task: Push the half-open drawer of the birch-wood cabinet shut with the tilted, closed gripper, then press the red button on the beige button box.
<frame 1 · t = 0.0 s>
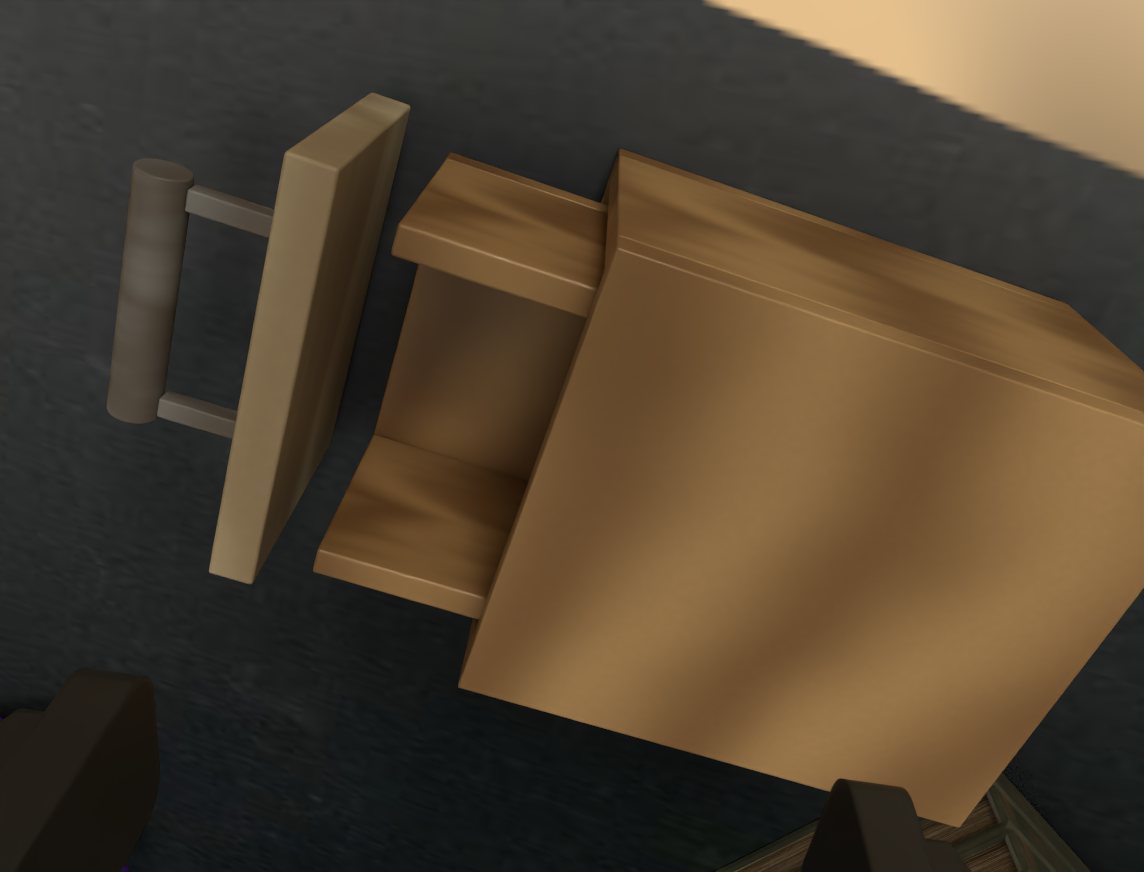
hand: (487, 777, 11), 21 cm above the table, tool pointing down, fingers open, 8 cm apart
drawer: (456, 377, 27), point 5 cm above the table, slide at 6.0 cm
cabinet: (764, 406, 32), on the table
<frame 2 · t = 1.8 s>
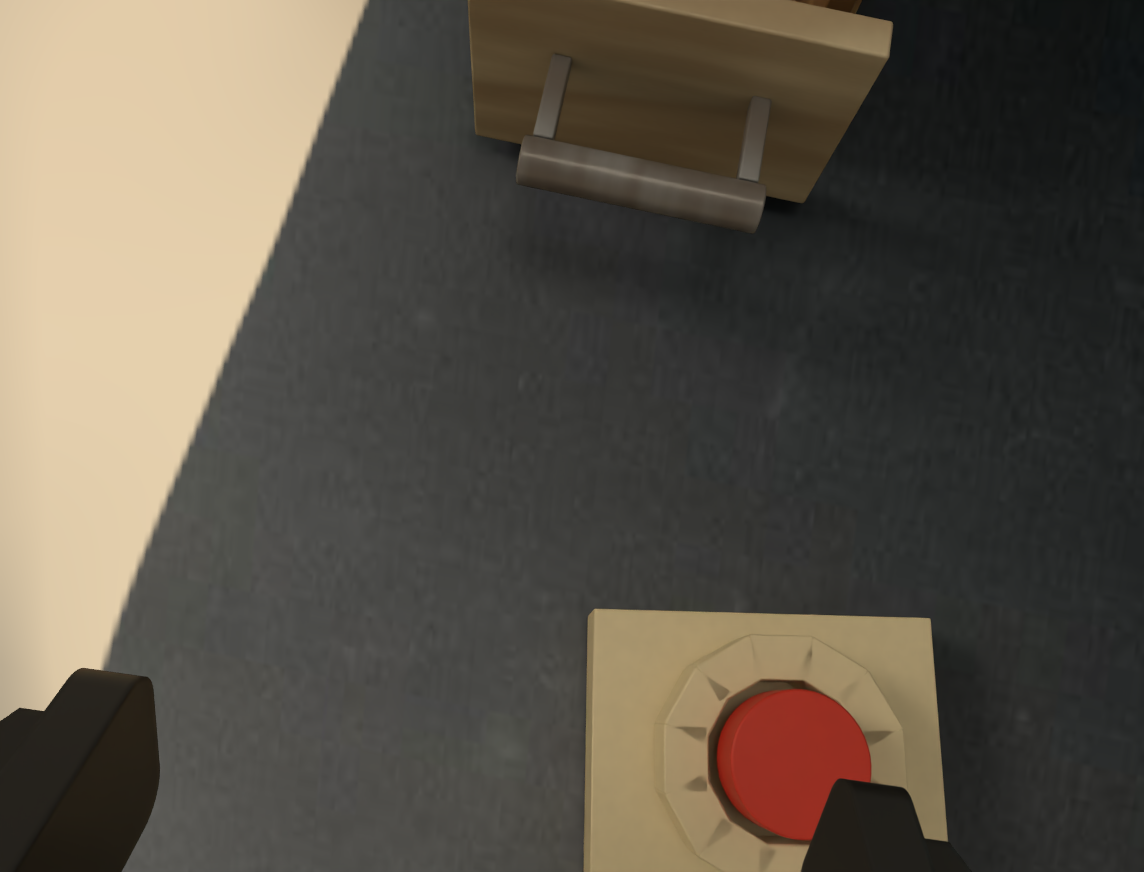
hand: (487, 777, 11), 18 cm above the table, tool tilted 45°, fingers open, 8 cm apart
button box: (750, 753, 29), on the table
red button: (792, 761, 25), point 5 cm above the table, slide at 0.2 cm
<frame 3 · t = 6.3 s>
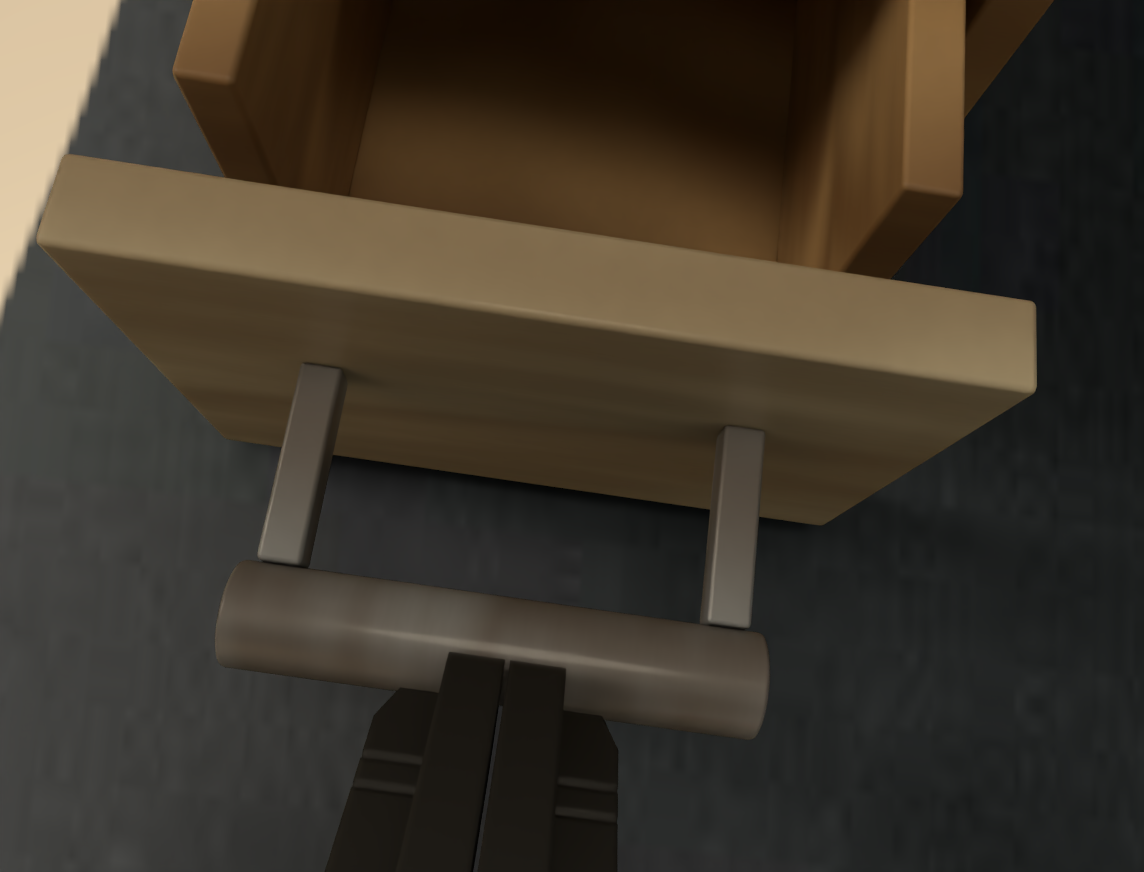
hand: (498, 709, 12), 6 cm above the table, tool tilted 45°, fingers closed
drawer: (572, 156, 16), point 5 cm above the table, slide at 4.9 cm, touching gripper
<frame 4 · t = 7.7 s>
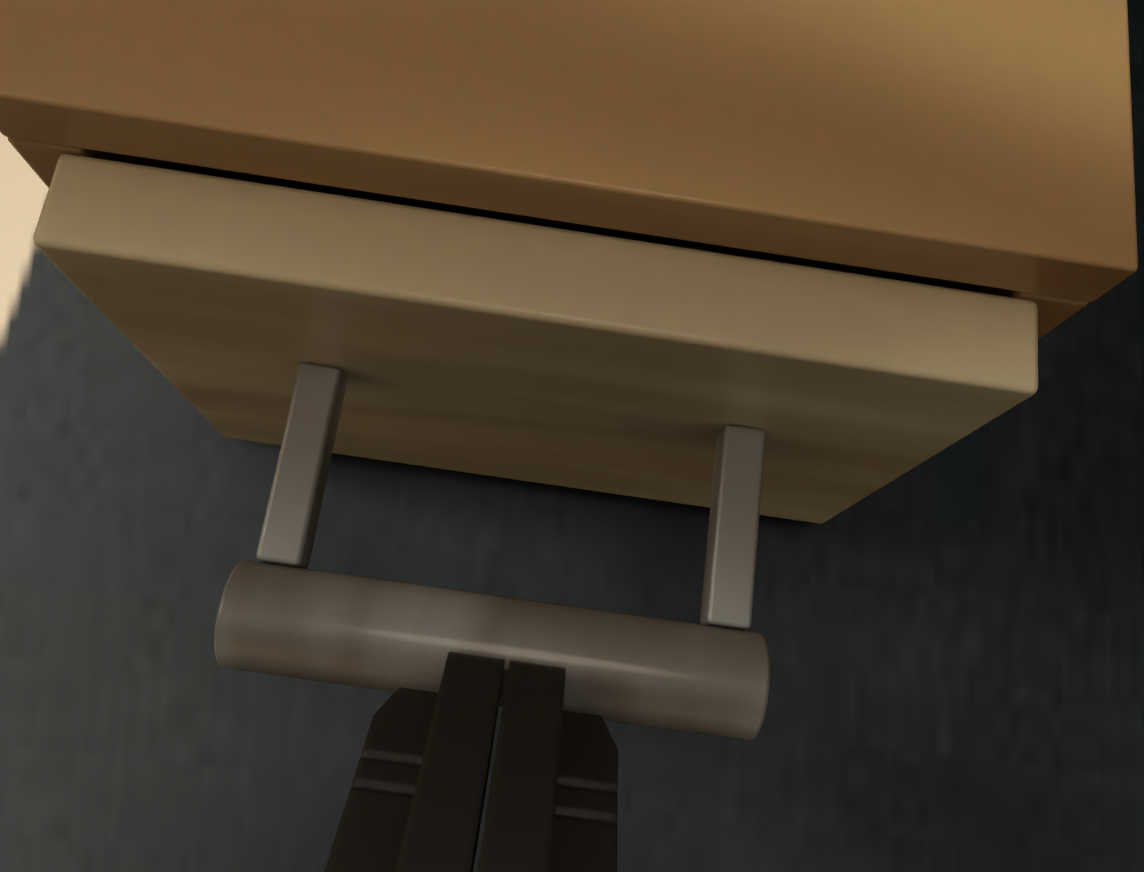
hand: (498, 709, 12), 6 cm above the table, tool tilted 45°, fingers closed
drawer: (572, 153, 16), point 5 cm above the table, slide at 0.0 cm, touching cabinet, gripper
cabinet: (579, 125, 22), on the table
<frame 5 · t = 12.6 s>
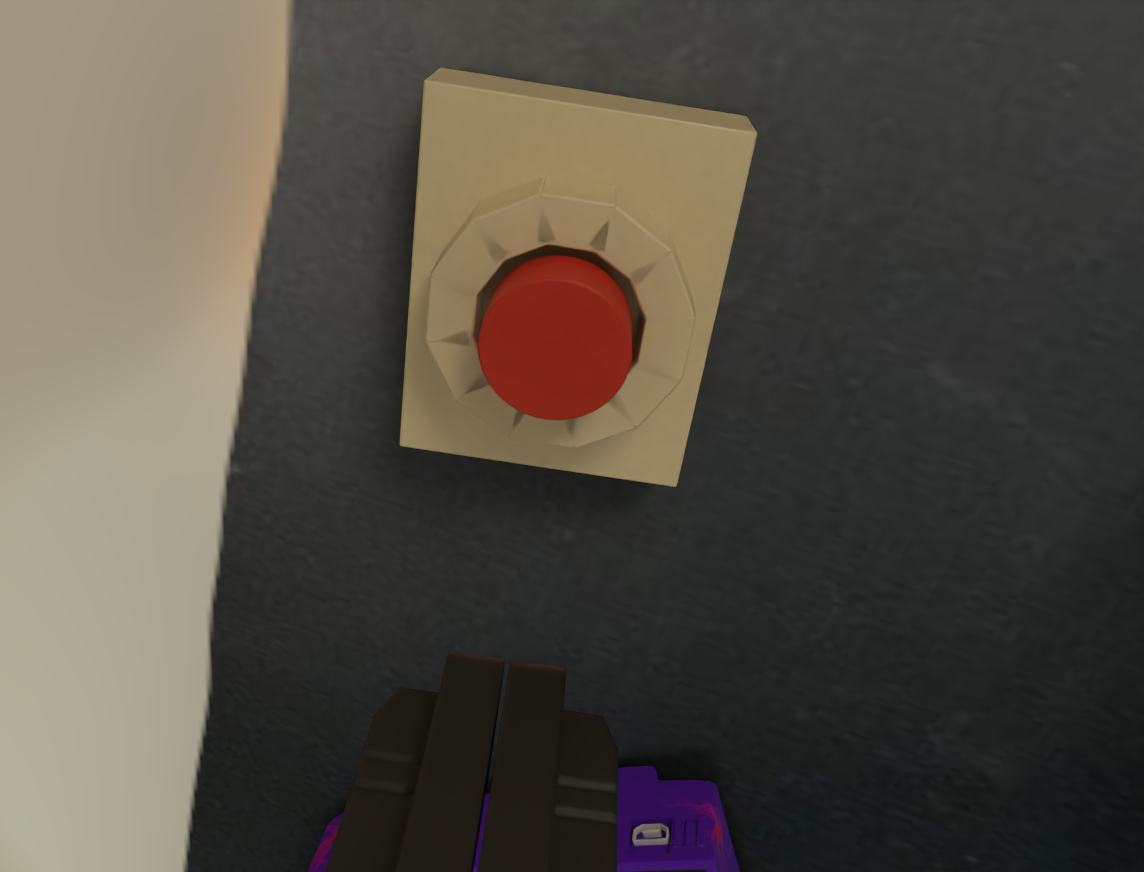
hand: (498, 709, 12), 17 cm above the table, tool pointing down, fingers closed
button box: (566, 276, 27), on the table
handheld gaming console: (545, 851, 39), on the table
red button: (556, 338, 23), point 5 cm above the table, slide at 0.2 cm
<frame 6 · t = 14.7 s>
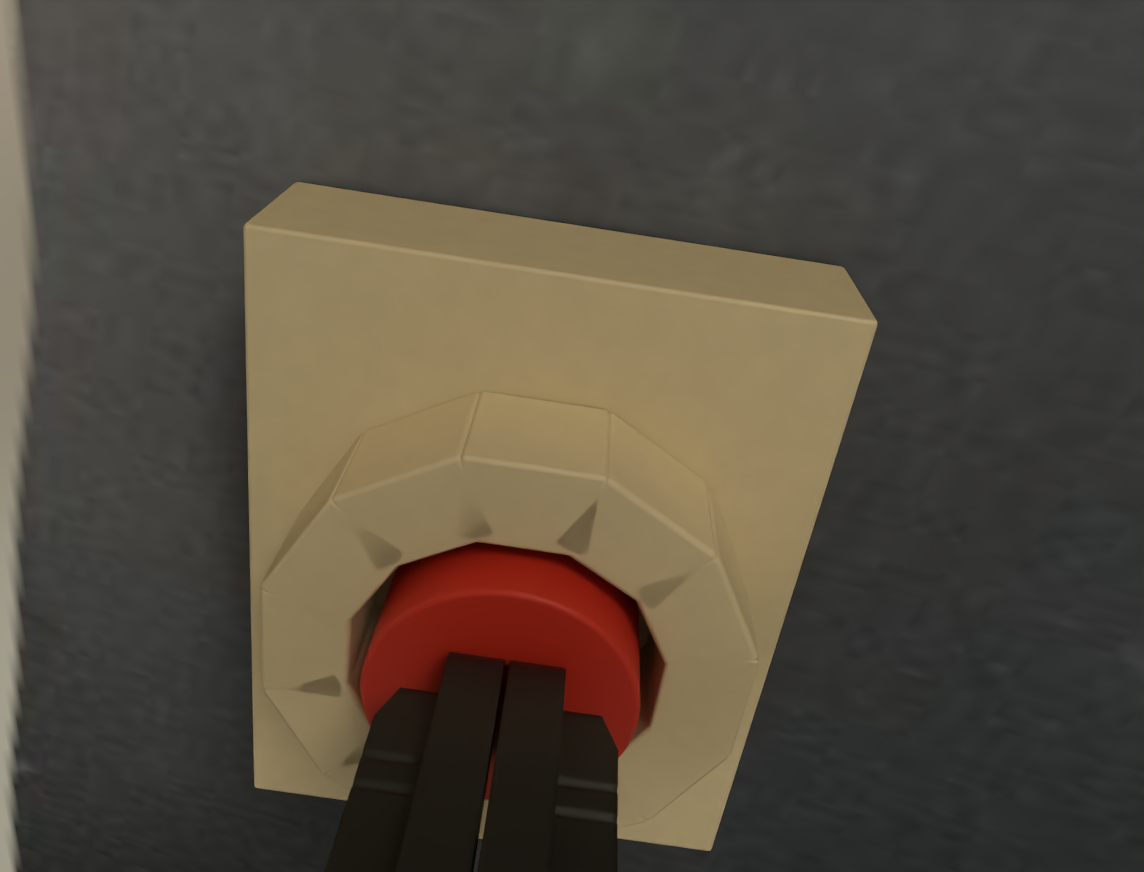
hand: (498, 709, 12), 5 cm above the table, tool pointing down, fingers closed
button box: (529, 512, 16), on the table
red button: (506, 658, 13), point 4 cm above the table, slide at -0.7 cm, touching gripper
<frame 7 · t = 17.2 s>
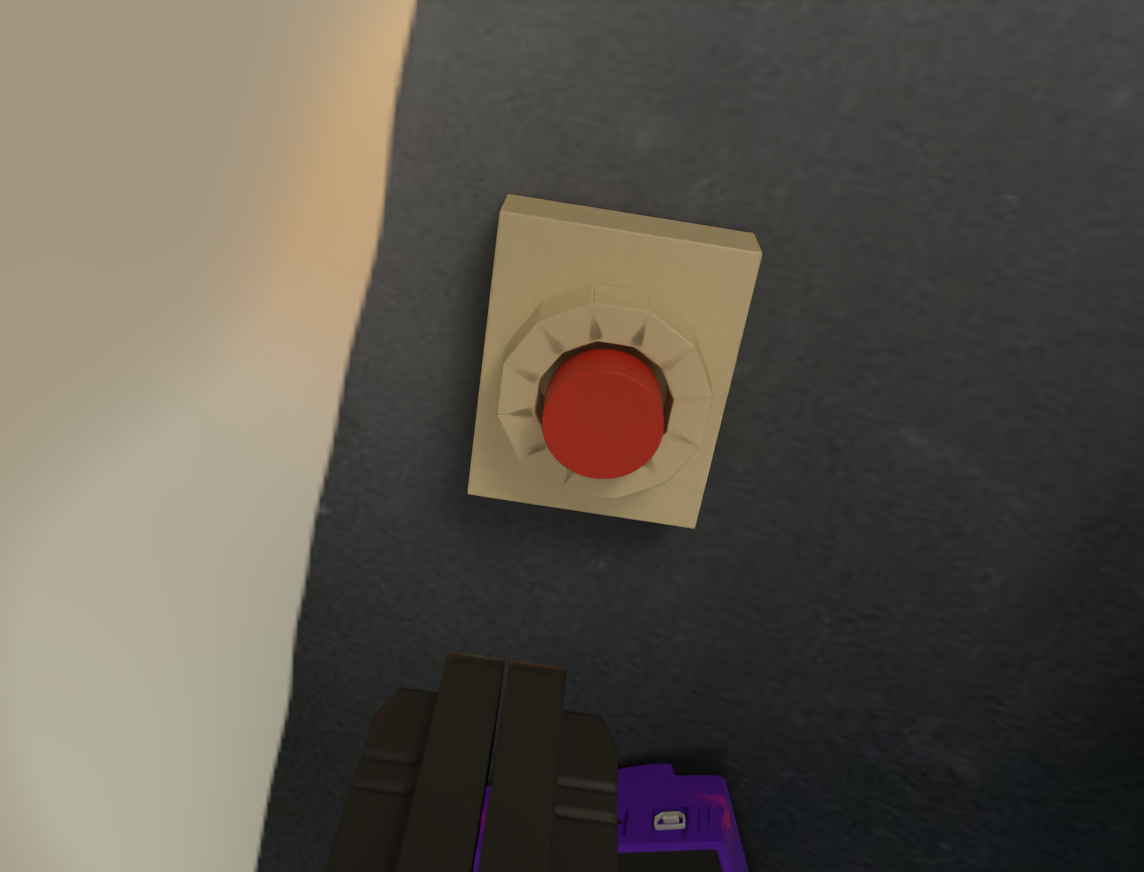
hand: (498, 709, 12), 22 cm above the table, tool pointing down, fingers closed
button box: (605, 356, 33), on the table
handheld gaming console: (574, 839, 45), on the table
red button: (603, 413, 29), point 5 cm above the table, slide at 0.2 cm
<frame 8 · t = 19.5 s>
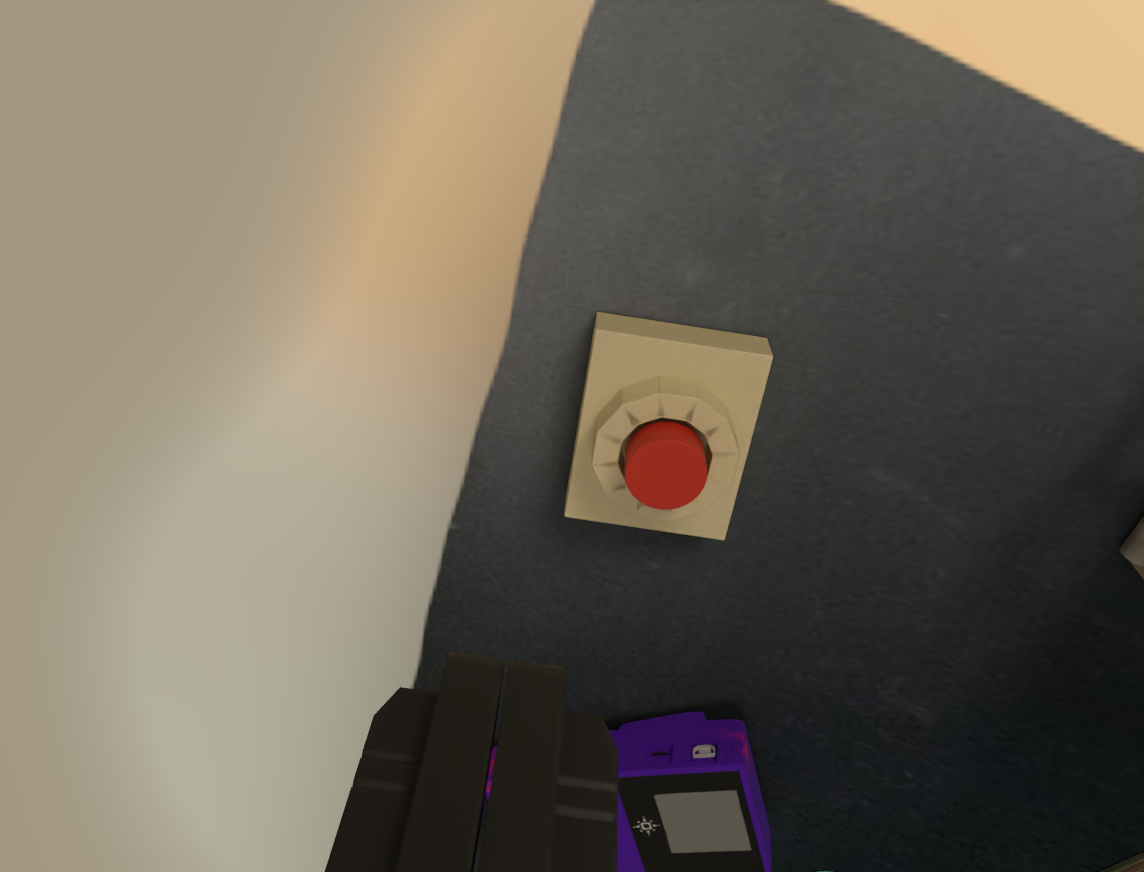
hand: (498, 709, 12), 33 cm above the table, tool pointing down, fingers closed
button box: (662, 419, 47), on the table
handheld gaming console: (628, 771, 59), on the table
red button: (665, 465, 43), point 5 cm above the table, slide at 0.2 cm
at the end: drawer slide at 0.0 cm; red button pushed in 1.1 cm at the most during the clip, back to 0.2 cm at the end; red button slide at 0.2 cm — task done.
